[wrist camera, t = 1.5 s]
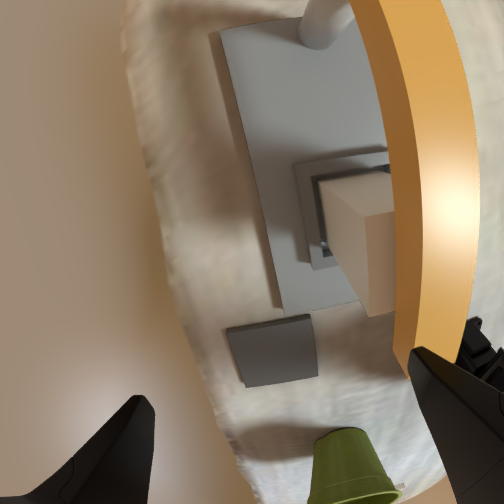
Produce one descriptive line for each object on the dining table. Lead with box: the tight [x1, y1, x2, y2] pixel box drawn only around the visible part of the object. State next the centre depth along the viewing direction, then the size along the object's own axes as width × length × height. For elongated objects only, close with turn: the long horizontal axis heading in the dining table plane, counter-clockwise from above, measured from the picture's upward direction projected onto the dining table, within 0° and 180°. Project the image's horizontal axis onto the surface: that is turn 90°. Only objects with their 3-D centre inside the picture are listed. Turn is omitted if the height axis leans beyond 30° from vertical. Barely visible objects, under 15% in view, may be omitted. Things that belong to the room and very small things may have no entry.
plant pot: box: [307, 428, 402, 504], centre depth 26 cm, size 12×12×11 cm
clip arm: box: [349, 0, 480, 380], centre depth 7 cm, size 18×3×2 cm, turn 13°
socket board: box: [219, 0, 391, 316], centre depth 14 cm, size 21×12×10 cm, turn 13°
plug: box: [316, 170, 396, 318], centre depth 14 cm, size 4×4×9 cm
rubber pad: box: [226, 314, 318, 388], centre depth 24 cm, size 7×7×1 cm
